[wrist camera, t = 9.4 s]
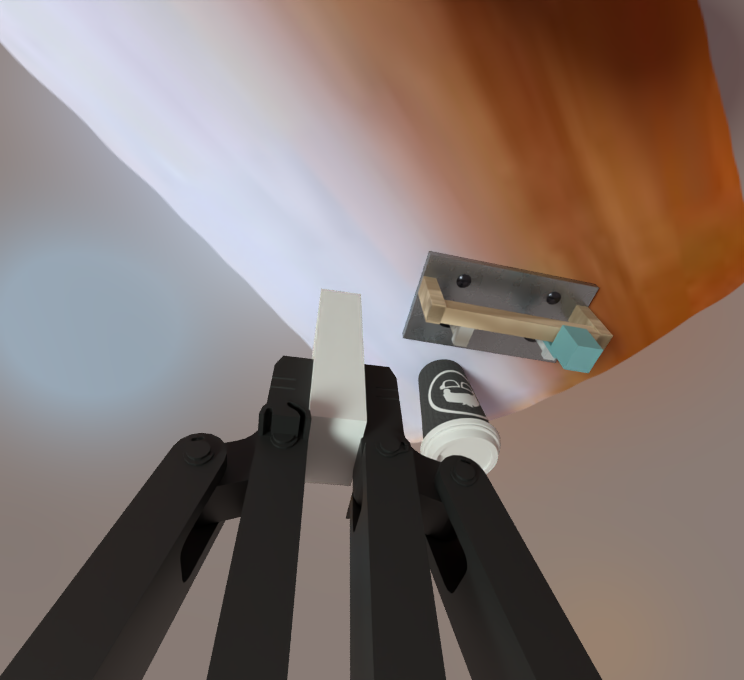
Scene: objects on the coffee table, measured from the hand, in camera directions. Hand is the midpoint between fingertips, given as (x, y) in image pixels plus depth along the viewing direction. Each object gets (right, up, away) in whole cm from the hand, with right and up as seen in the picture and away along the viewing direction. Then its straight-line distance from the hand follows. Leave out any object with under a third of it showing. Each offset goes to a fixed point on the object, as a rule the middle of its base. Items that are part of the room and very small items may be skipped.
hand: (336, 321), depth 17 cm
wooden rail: (+18, +3, +39) cm, 43 cm away
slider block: (+23, +2, +40) cm, 46 cm away
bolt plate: (+17, +3, +40) cm, 44 cm away
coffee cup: (+11, -6, +47) cm, 48 cm away
